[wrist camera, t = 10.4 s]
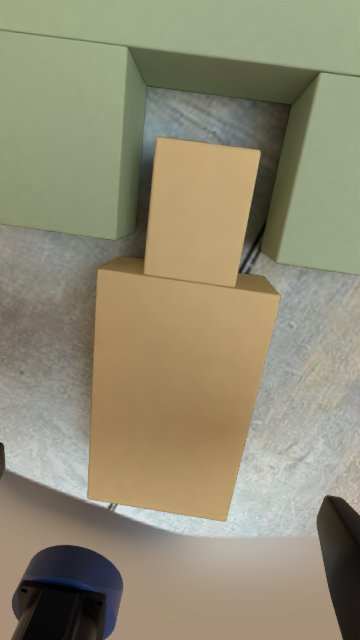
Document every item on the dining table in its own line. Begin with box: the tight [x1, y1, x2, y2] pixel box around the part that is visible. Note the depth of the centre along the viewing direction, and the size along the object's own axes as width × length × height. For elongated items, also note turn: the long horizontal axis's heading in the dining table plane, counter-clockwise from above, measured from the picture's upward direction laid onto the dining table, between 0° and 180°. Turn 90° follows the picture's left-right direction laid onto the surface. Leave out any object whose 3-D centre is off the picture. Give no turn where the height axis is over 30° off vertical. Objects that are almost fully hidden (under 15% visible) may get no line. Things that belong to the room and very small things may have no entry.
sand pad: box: [87, 137, 281, 522], centre depth 13 cm, size 14×6×3 cm, turn 173°
